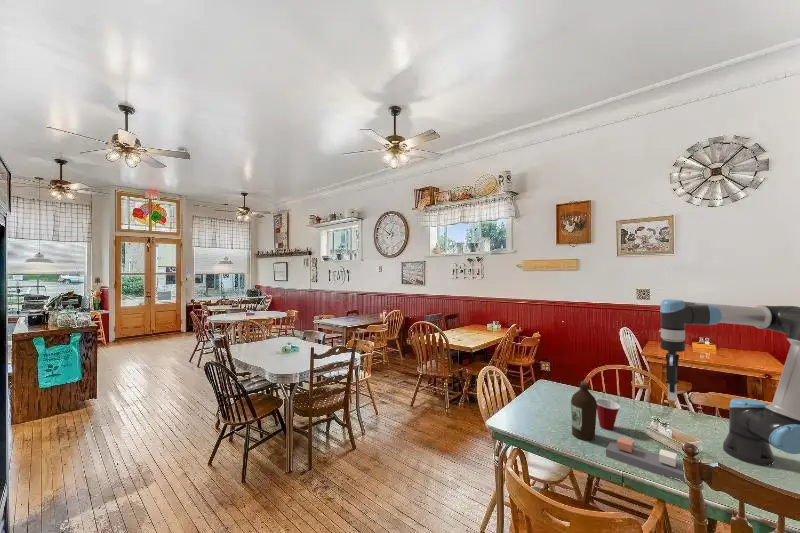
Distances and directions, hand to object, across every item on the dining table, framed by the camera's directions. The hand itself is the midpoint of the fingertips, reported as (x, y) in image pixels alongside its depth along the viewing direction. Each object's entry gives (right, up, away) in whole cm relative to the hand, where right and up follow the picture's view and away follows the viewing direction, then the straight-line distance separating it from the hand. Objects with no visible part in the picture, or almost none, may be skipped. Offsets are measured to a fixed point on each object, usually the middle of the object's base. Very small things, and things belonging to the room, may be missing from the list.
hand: (672, 399), depth 138 cm
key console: (-8, -27, +3) cm, 28 cm away
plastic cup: (-6, -26, +34) cm, 43 cm away
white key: (-3, -23, -2) cm, 23 cm away
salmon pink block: (-13, -23, +8) cm, 28 cm away
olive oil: (-22, -26, +25) cm, 42 cm away
